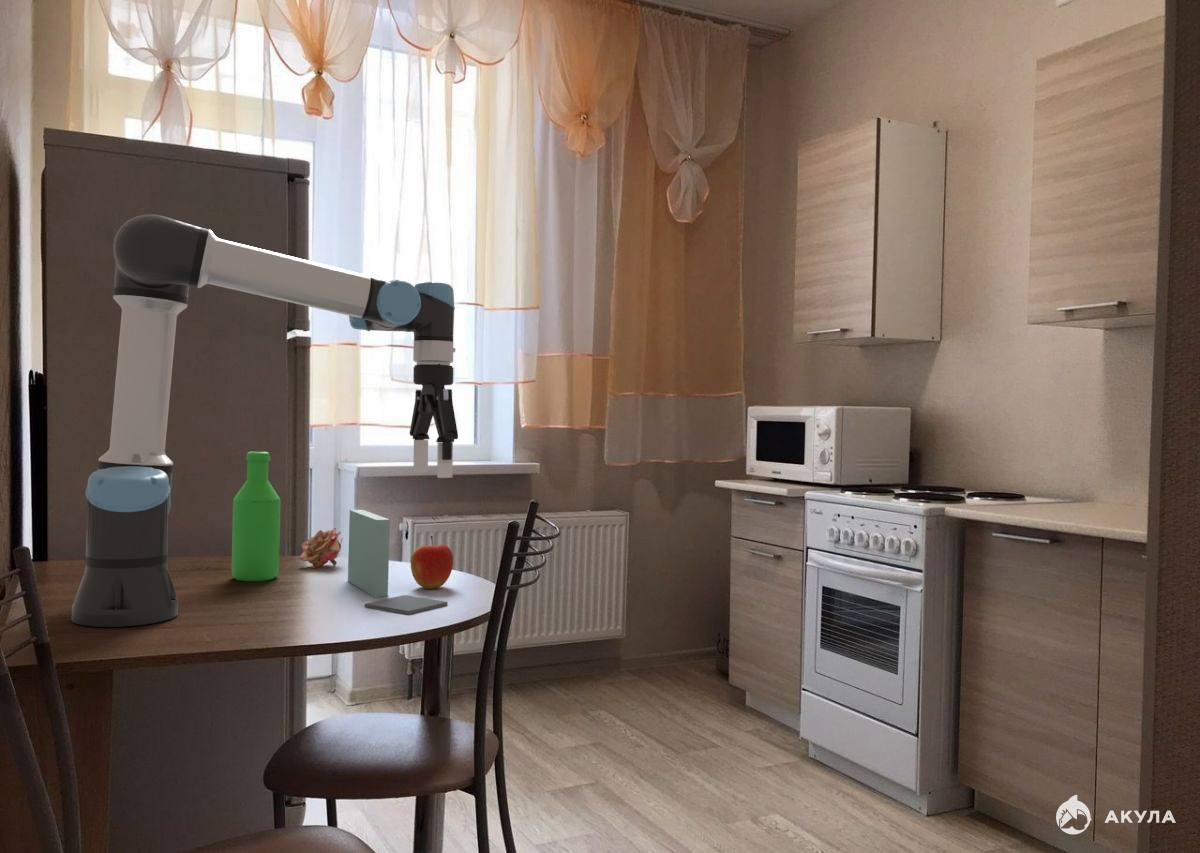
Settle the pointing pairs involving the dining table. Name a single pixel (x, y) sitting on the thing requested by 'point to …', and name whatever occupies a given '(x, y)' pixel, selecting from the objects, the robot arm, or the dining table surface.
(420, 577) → the apple
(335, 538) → the flower
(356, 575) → the grey-green flat block
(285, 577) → the dining table surface
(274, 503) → the bottle
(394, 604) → the coaster
